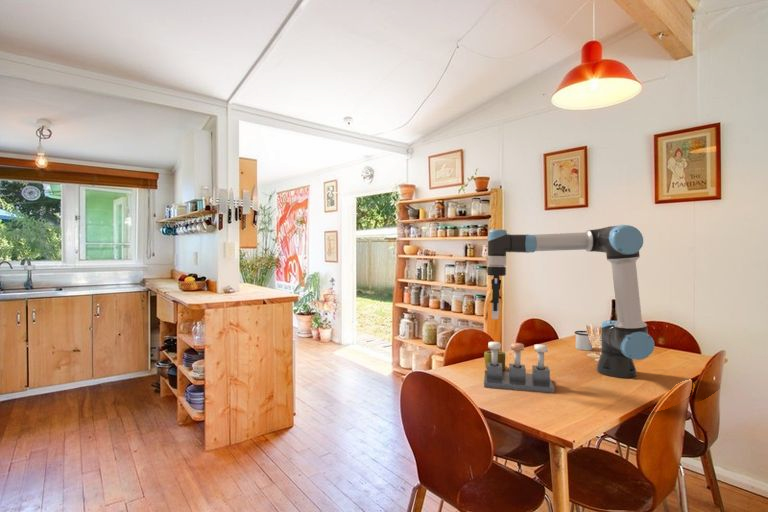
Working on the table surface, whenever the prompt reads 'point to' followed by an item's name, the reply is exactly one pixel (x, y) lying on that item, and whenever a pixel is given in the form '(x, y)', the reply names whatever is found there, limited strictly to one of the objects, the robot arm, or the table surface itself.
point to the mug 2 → (583, 341)
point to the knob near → (540, 354)
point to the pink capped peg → (517, 353)
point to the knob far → (494, 352)
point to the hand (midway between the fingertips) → (495, 316)
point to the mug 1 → (500, 358)
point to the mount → (518, 378)
